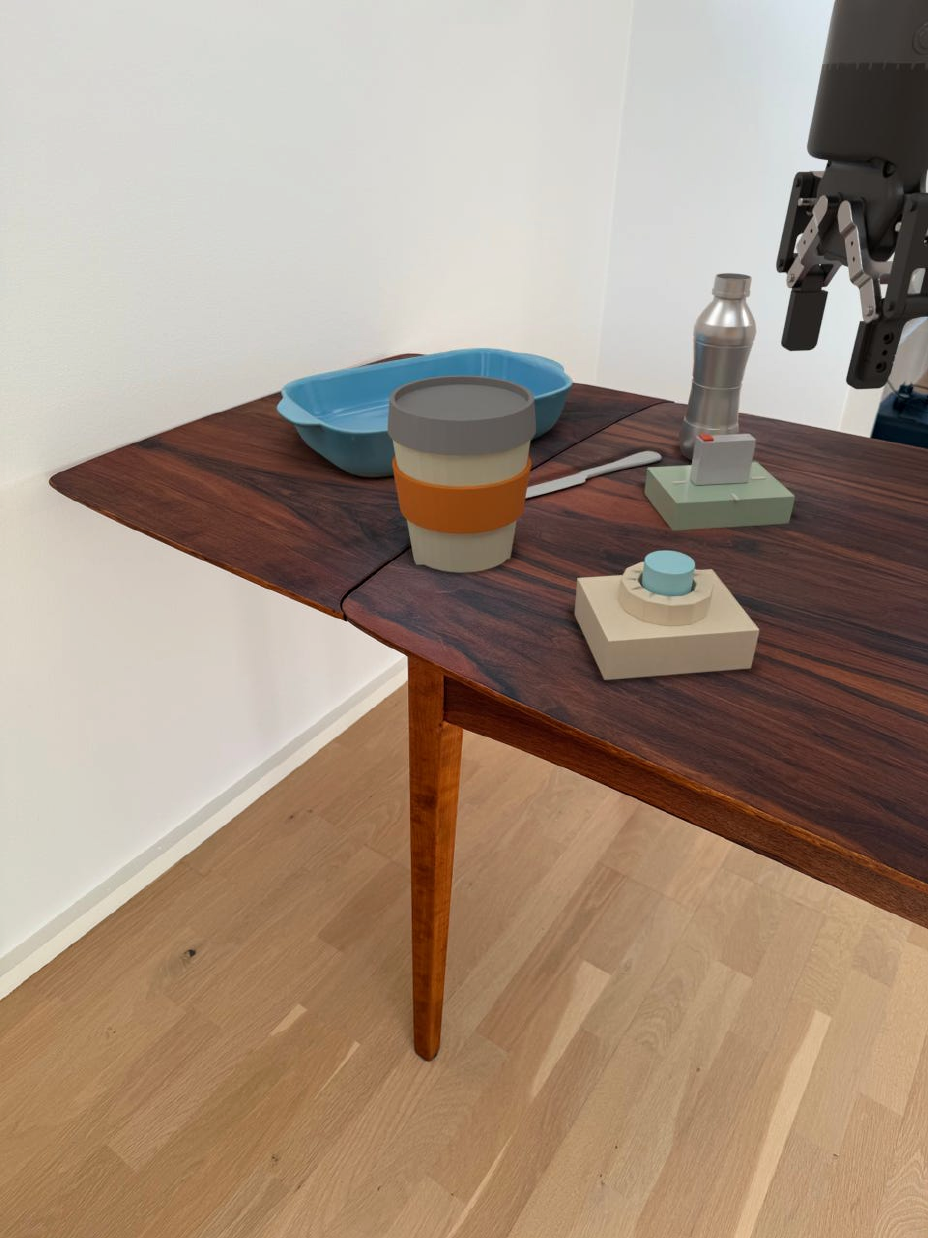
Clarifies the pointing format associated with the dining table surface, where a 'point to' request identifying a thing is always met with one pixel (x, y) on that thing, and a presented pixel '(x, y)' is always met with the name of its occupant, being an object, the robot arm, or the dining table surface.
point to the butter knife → (594, 473)
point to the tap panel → (717, 499)
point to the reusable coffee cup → (461, 467)
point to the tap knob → (722, 459)
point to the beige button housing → (663, 626)
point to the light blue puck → (668, 573)
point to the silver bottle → (719, 361)
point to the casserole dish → (359, 397)
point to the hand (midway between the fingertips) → (828, 366)
